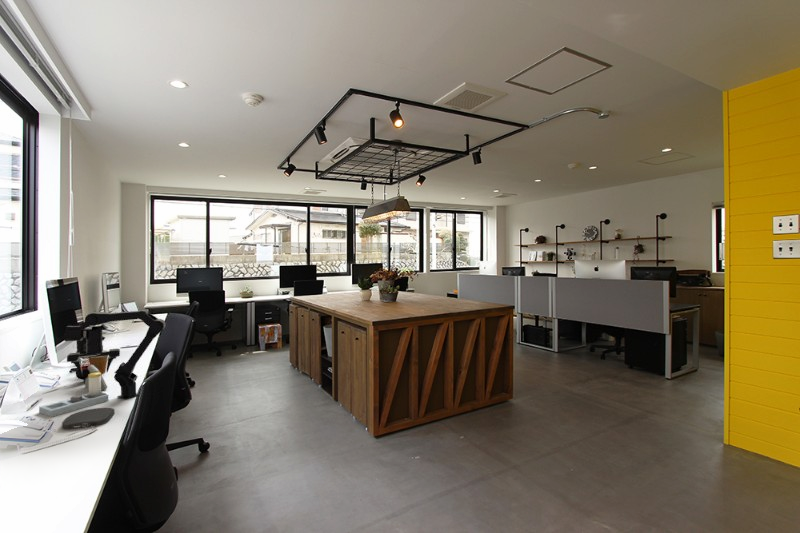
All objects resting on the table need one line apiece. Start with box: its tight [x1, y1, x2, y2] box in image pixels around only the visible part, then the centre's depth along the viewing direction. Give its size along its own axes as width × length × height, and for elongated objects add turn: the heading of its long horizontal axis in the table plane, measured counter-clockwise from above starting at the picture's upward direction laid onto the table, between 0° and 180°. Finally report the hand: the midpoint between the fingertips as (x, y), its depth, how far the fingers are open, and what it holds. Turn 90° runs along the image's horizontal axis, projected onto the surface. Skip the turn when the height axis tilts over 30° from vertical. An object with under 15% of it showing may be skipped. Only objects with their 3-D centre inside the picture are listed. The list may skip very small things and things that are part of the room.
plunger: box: [70, 394, 83, 403], centre depth 169 cm, size 4×4×3 cm
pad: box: [82, 391, 107, 399], centre depth 175 cm, size 7×6×1 cm
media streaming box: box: [61, 407, 115, 431], centre depth 154 cm, size 15×15×3 cm
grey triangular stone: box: [84, 365, 108, 392], centre depth 193 cm, size 16×9×11 cm, turn 37°
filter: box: [74, 335, 106, 383], centre depth 203 cm, size 14×9×30 cm
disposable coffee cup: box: [89, 349, 109, 375], centre depth 217 cm, size 10×10×12 cm
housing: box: [38, 393, 109, 418], centre depth 169 cm, size 10×21×2 cm, turn 154°
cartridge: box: [88, 372, 102, 396], centre depth 175 cm, size 5×5×10 cm
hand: (94, 373), depth 175 cm, fingers open, 9 cm apart
